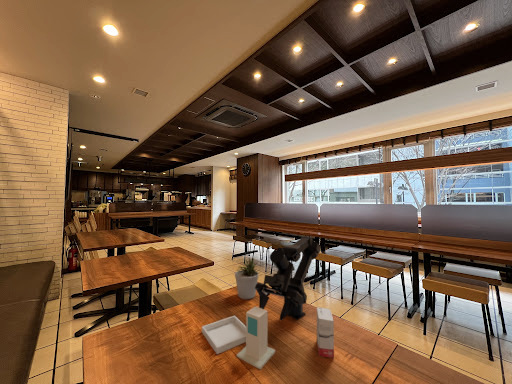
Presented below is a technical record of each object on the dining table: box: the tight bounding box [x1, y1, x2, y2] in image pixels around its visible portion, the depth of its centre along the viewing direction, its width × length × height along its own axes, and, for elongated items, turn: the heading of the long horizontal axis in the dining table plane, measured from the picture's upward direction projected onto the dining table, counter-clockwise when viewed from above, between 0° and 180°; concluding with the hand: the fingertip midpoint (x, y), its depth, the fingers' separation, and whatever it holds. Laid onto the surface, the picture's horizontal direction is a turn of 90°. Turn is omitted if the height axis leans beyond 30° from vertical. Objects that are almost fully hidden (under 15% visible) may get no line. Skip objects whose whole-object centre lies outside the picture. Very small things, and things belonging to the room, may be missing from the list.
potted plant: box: [234, 257, 261, 300], centre depth 112 cm, size 13×14×20 cm
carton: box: [245, 305, 269, 360], centre depth 69 cm, size 5×5×13 cm
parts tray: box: [201, 315, 246, 355], centre depth 78 cm, size 14×14×2 cm
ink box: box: [316, 307, 335, 359], centre depth 73 cm, size 9×5×12 cm, turn 168°
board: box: [236, 345, 276, 370], centre depth 69 cm, size 9×9×1 cm
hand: (269, 316), depth 76 cm, fingers open, 9 cm apart
